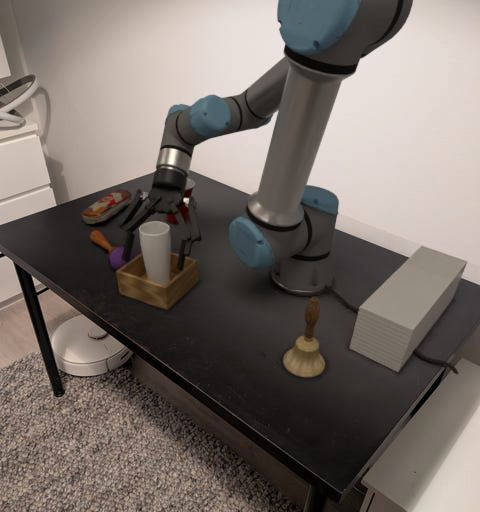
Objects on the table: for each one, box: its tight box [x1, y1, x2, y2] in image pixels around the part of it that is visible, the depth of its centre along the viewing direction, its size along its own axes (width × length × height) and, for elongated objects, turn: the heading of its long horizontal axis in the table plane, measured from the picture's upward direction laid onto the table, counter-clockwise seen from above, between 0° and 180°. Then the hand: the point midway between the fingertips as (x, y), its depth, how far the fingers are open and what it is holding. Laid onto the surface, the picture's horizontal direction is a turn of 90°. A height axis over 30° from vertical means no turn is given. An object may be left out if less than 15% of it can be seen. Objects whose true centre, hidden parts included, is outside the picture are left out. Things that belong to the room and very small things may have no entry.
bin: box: [115, 251, 199, 311], centre depth 106 cm, size 13×13×6 cm
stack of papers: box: [349, 245, 468, 373], centre depth 98 cm, size 32×11×11 cm, turn 141°
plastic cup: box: [165, 177, 196, 225], centre depth 133 cm, size 11×11×12 cm
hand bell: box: [282, 296, 326, 379], centre depth 85 cm, size 8×8×16 cm
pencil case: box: [80, 188, 133, 225], centre depth 136 cm, size 11×20×5 cm, turn 145°
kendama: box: [89, 230, 135, 271], centre depth 117 cm, size 6×6×20 cm
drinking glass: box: [138, 220, 172, 286], centre depth 103 cm, size 7×7×15 cm
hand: (152, 265), depth 102 cm, fingers open, 12 cm apart
